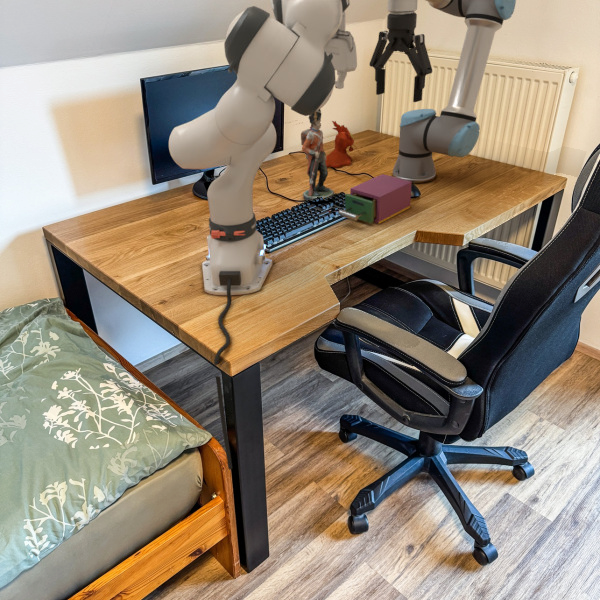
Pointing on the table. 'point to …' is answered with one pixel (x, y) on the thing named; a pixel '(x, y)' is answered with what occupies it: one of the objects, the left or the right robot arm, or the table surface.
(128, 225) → the table surface
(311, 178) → the figurine
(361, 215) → the drawer
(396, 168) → the right robot arm
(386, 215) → the cabinet
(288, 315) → the table surface
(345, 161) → the toy
